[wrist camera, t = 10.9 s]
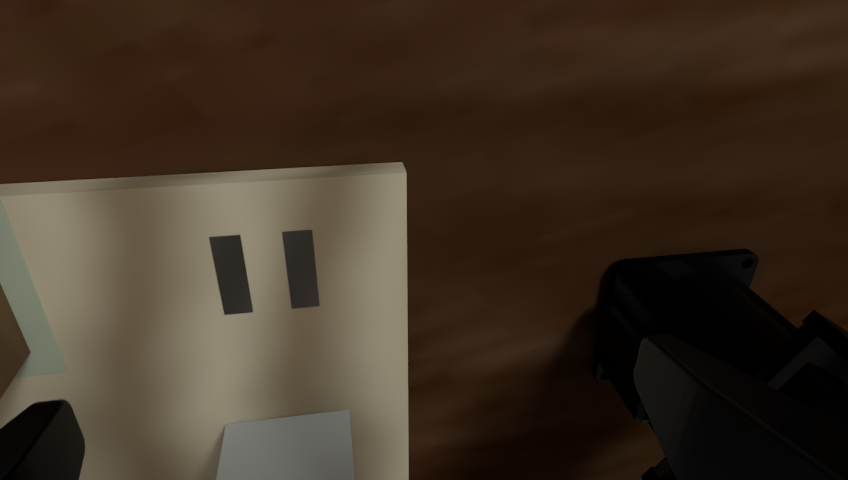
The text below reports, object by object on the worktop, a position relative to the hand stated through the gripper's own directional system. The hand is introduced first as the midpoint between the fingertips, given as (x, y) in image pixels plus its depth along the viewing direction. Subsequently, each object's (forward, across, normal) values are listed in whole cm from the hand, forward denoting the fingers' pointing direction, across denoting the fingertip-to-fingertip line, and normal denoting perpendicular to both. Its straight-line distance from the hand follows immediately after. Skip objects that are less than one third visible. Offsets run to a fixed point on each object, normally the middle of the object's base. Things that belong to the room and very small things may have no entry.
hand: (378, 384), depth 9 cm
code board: (+12, +8, +9) cm, 17 cm away
